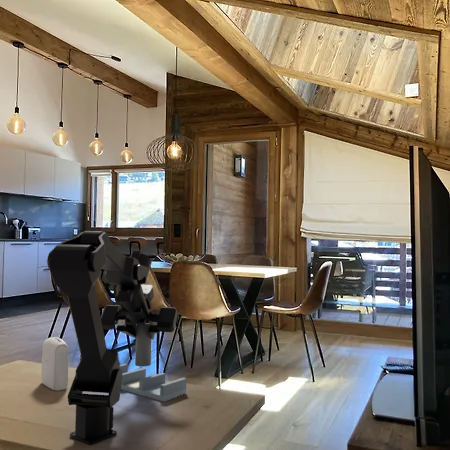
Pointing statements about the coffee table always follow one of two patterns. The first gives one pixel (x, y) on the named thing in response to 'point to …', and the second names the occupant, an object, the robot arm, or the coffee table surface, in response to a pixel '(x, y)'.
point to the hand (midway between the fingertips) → (145, 337)
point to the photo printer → (55, 363)
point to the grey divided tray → (151, 384)
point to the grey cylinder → (143, 346)
